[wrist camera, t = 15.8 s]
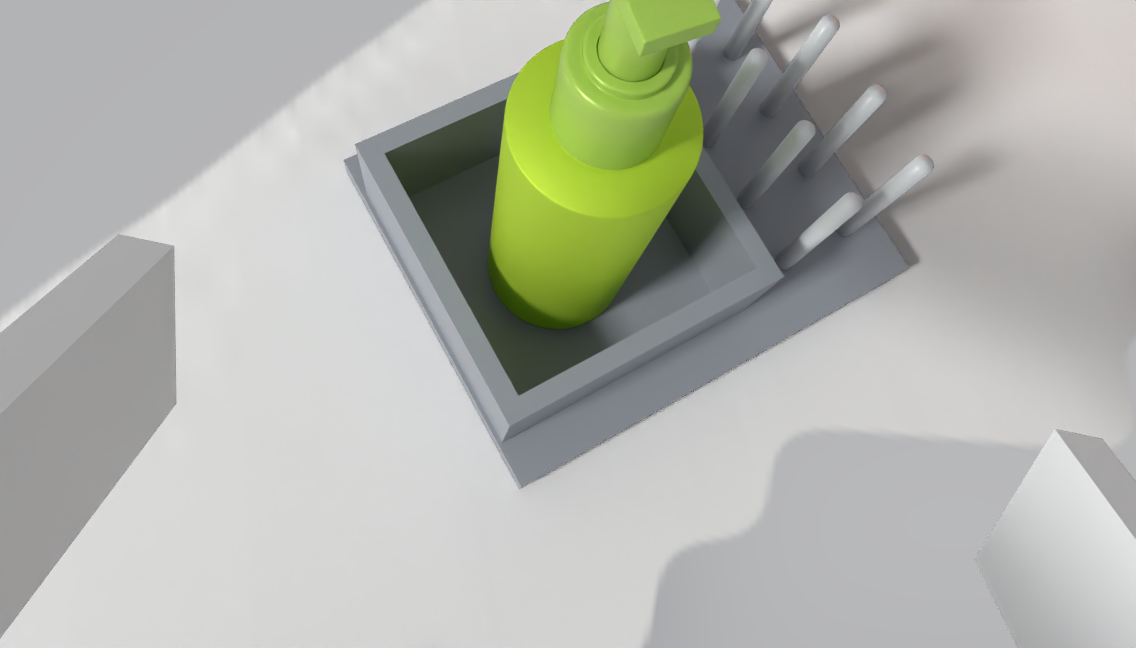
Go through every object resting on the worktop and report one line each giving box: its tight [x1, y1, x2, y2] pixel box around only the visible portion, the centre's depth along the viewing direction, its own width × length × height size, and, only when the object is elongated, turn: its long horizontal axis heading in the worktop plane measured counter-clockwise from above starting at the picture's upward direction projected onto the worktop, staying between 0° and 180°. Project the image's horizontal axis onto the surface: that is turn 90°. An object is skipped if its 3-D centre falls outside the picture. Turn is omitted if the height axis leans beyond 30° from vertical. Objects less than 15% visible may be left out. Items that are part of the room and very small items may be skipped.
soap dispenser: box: [488, 0, 721, 329], centre depth 28 cm, size 6×7×20 cm
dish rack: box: [344, 0, 934, 489], centre depth 36 cm, size 20×16×8 cm
